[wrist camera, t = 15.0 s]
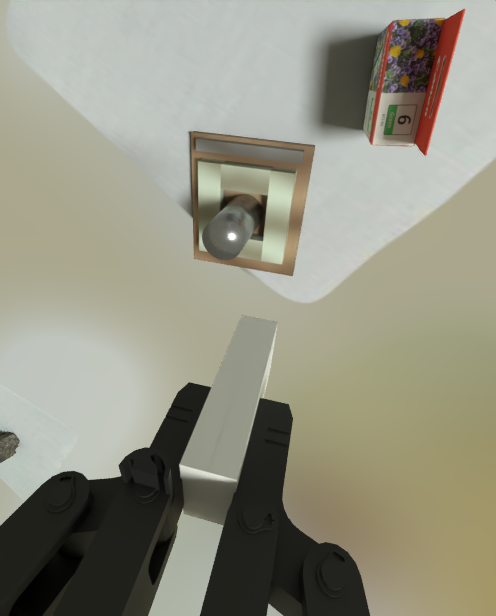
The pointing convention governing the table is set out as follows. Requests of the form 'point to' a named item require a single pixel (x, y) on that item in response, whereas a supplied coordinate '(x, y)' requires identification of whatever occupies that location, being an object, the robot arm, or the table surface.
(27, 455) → the table surface
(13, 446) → the stone
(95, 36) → the table surface
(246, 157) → the jig
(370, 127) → the ink box
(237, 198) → the brushed metal cylinder
